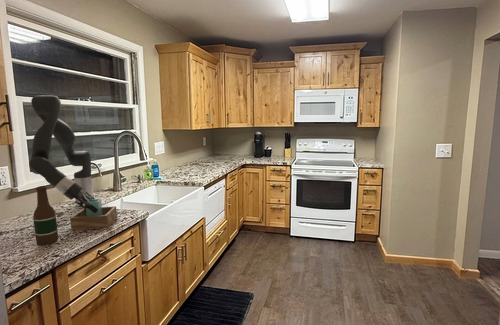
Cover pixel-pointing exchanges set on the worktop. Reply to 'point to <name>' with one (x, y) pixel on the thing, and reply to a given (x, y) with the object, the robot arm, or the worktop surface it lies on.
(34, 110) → the robot arm
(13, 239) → the worktop surface
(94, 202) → the teal rectangular block
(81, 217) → the walnut crate
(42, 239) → the beer bottle
